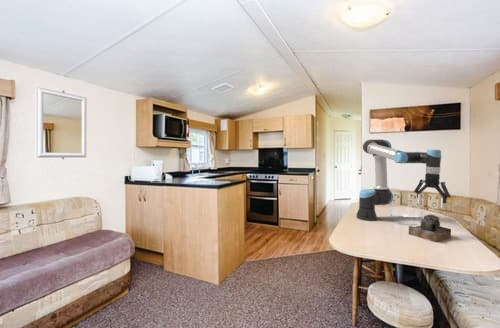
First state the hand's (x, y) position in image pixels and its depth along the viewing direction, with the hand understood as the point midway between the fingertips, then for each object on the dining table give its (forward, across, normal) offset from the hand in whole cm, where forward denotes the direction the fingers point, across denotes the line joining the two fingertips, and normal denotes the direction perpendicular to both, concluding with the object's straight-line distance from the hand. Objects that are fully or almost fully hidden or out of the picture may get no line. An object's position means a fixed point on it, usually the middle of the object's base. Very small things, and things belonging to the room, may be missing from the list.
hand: (430, 205), depth 161 cm
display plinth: (+20, 0, 0) cm, 20 cm away
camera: (+16, 0, 0) cm, 16 cm away
